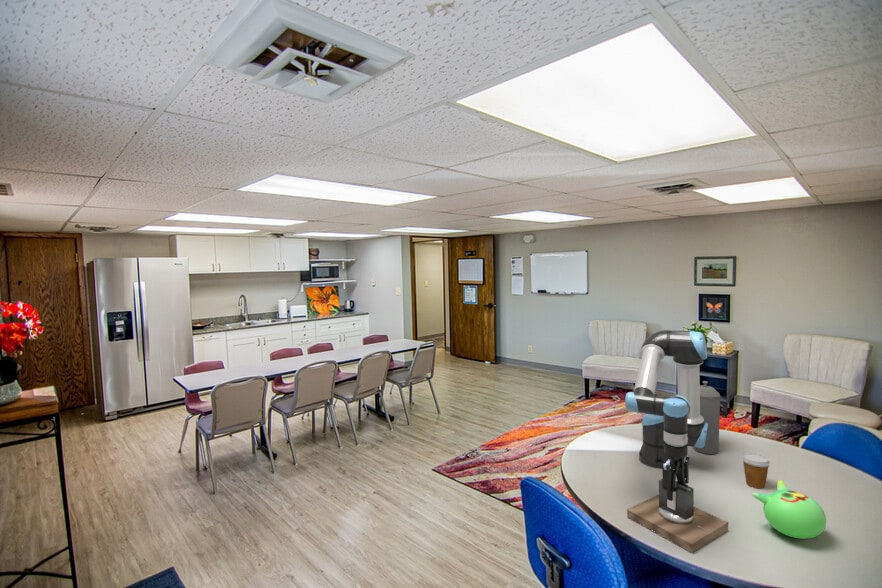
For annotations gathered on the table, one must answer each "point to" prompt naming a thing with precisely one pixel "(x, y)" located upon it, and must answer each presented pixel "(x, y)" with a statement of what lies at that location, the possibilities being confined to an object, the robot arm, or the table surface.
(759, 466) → the disposable coffee cup
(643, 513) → the dial panel
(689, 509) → the dial
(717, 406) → the canister
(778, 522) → the toy bird
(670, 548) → the table surface
